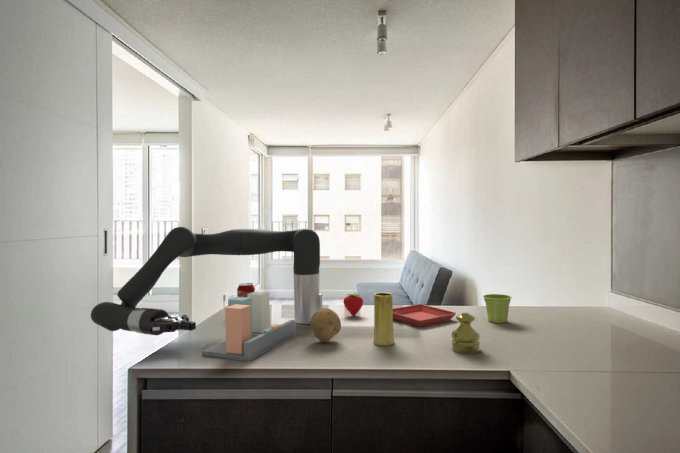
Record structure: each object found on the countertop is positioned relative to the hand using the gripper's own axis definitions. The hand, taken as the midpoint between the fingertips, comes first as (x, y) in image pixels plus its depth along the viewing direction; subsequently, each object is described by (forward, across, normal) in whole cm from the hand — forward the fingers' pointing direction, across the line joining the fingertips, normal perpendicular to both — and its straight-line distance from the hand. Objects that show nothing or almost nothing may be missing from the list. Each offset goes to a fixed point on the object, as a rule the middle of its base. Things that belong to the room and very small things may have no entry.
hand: (194, 326), depth 114 cm
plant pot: (+79, +60, +6) cm, 99 cm away
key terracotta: (+15, 0, +5) cm, 16 cm away
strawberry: (+29, +52, +6) cm, 60 cm away
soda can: (-12, +42, +7) cm, 44 cm away
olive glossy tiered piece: (+72, +25, +6) cm, 76 cm away
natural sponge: (+32, +19, +7) cm, 38 cm away
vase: (+49, +24, +6) cm, 55 cm away
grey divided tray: (+13, +10, +7) cm, 17 cm away
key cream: (+9, +19, +5) cm, 22 cm away
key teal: (+9, +10, +5) cm, 14 cm away
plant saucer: (+53, +55, +7) cm, 77 cm away
